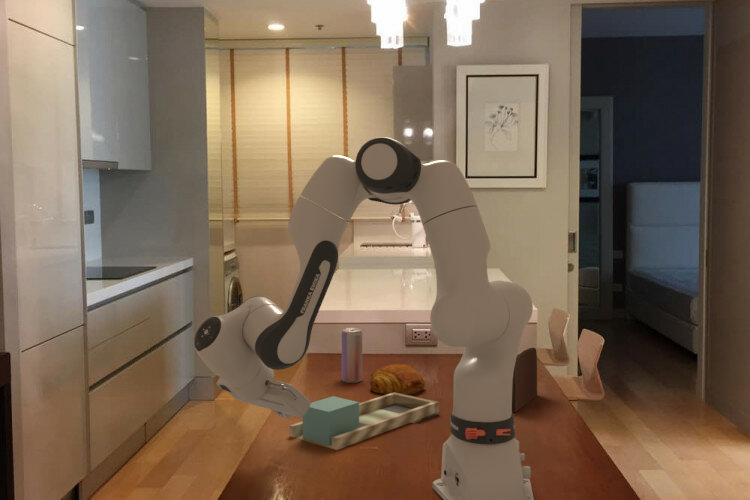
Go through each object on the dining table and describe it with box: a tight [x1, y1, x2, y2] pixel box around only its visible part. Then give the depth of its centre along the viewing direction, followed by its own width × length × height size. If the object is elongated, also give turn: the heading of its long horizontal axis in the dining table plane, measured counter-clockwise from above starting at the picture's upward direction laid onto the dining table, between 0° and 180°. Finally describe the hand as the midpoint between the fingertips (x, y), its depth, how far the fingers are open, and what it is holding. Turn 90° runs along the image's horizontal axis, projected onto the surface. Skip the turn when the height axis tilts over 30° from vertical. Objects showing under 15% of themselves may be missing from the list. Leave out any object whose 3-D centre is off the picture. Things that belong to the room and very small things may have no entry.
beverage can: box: [341, 327, 363, 384], centre depth 238 cm, size 6×6×15 cm
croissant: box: [369, 363, 426, 396], centre depth 228 cm, size 14×16×8 cm
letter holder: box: [512, 347, 538, 414], centre depth 216 cm, size 10×20×14 cm, turn 153°
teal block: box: [302, 395, 360, 445], centre depth 185 cm, size 10×8×8 cm
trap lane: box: [288, 392, 440, 451], centre depth 195 cm, size 38×14×3 cm, turn 140°
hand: (286, 414), depth 175 cm, fingers closed
